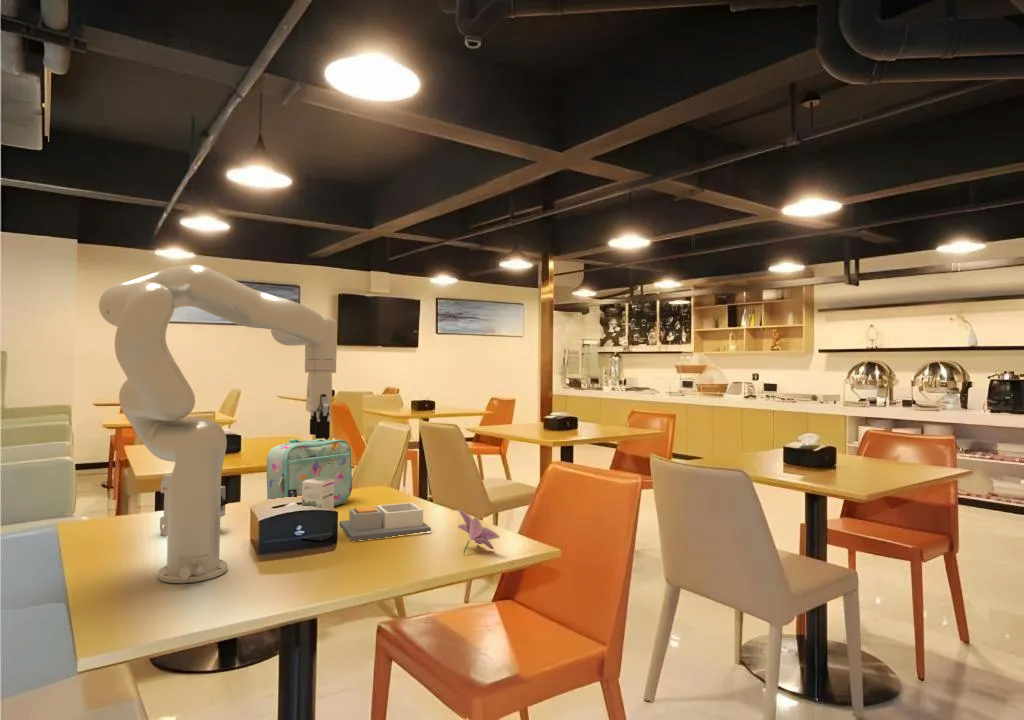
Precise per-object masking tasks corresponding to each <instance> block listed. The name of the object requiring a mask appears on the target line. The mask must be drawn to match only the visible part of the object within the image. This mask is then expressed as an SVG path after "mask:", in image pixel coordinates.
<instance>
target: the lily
mask: <svg viewBox="0 0 1024 720" xmlns="http://www.w3.org/2000/svg"><path fill="white" fill-rule="evenodd" d="M457 510H458V511H457V512H458V513H459V514H460V516H461V517H462V519H463V522H464V523H465V524H460V525H459V524H458V525H457V528H458V529H460V530H461V531H464V532H465V533H468V536H469V537H468V540H467V543H466V545H465V546H464V550H463V553H464V554H465V552H466V549H467V547H468V546H469V543H470V542H471V541H474V543H475V544H476V543H478V544H481V545H482V544H483V545H485V546H486V547H487V548H489V549H490V548H491V549H494V550H495V547H493V545H492V543H491V542H490V541H491V540H495V539H499V538H500V535H499V534H497V532H495V531H493V530H492V529H491V528H490V529H489V528H487V527H485V526H484V527H483V525H482V524H481V521H480V520H479V518H478V517H473V518H471V516H470V515H469V514H468V513H467V512H465V511H463V510H462V509H460V508H457ZM491 549H490V550H491ZM463 553H462V554H463Z"/></svg>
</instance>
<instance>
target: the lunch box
mask: <svg viewBox="0 0 1024 720" xmlns="http://www.w3.org/2000/svg"><path fill="white" fill-rule="evenodd" d="M352 474H353V472H352V449H351V446H350V444H349V443H348V442H347V441H346V440H344V439H332V440H331V439H310V440H307V439H306V440H298V439H297V438H294V439H293V438H291V439H288V442H287V443H286V442H285V443H282V444H279V445H275V446H273V447H272V448H271V449H270V450H269V451H268V452H267V456H266V497H267V498H266V499H267V500H268V499H276V498H284V497H297V496H302V482H303V481H305V480H308V479H311V478H322V479H334V507H336V506H337V505H340V504H343V503H345V502H346V501H348V499H349V498H350V497H351V494H352V490H353V475H352Z"/></svg>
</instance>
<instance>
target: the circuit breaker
mask: <svg viewBox="0 0 1024 720" xmlns="http://www.w3.org/2000/svg"><path fill="white" fill-rule="evenodd" d="M171 474H172V473H167V474H164V475H161V478H162V480H161V482H160V494H164V495H163V496H164V497H163V498H164V499H163V516H162V517H160V518H159V531H160V534H159V537H160V536H162V537H165V536H168V489H169V482H170V478H171ZM164 488H165V489H164ZM226 491H227V489H226V486H225V485H221V508H220V518H222V517H223V516H225V515H226V505H228V504H229V503H228V501H229V499H226Z"/></svg>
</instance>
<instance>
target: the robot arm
mask: <svg viewBox="0 0 1024 720" xmlns="http://www.w3.org/2000/svg"><path fill="white" fill-rule="evenodd" d="M182 307H183V308H185V307H194V308H197V309H199V310H202V311H203V312H206V313H209V314H212V315H214V316H216V317H219V318H221V319H223V320H226V321H228V322H231V323H232V324H235V325H238V326H243V327H248V328H252V329H253V328H254V329H255V328H256V329H265V330H266V329H267V330H270V333H271V337H273V340H275V341H276V342H278V343H279V344H281V345H283V346H290V347H291V346H293V347H294V346H296V347H297V346H304V373H306V374H307V382H306V383H307V384H306V400H305V401H306V402H305V410H306V412H308V413H310V415H309V416H310V419H309V435H311V436H312V435H313V436H314V435H315V439H316V440H320V439H322V440H326V439H330V432H331V428H330V427H331V426H330V425H331V421H330V419H331V418H330V413H331V411H332V407H333V405H332V403H333V375H332V374H337V353H338V352H337V350H338V349H337V348H338V347H337V345H338V344H337V342H338V341H337V340H338V323H337V321H336V319H335V318H333V317H326V316H325V317H324V316H322V315H321V314H320V313H319V312H317V311H315V310H314V309H311V308H309V307H307V306H305V305H303V304H301V303H298V302H296V301H293V300H289V299H286V298H283V297H279V296H276V295H274V294H270V293H267V292H263V291H260V290H256V289H254V288H251V287H249V286H248V285H245V284H243V283H241V282H239V281H237V280H235V279H234V278H233V279H232V278H231V277H229V276H227V275H224V274H222V273H221V272H219V271H216V270H215V269H212V268H210V267H208V266H205V265H202V264H196V263H195V264H193V263H192V264H185V265H178V266H172V267H167V268H164V269H161V270H158V271H155V272H152V273H150V274H146V275H143V276H140V277H136V278H134V279H130V280H127V281H125V282H121V283H117V284H115V285H113V286H110V287H109V288H108V289H105V291H103V292H102V294H101V296H100V298H99V301H98V310H99V313H100V315H101V316H102V318H103V319H104V320H105V321H106V322H107V323H109V324H110V325H112V326H114V327H117V328H116V332H115V336H114V352H115V356H116V359H117V362H118V364H119V366H120V368H121V369H122V371H123V373H124V375H125V377H126V380H125V381H124V382H123V383H122V385H121V387H120V389H119V395H118V400H119V405H120V408H121V410H122V411H121V412H122V413H123V414H124V416H125V418H126V419H127V421H128V423H129V424H130V425H131V427H132V429H134V431H135V433H136V435H138V437H139V438H140V440H141V442H142V444H144V446H145V448H146V449H147V450H148V451H149V452H150V453H151V454H152V455H153V456H155V458H158V459H160V460H161V461H162V460H163V461H166V462H173V463H174V465H173V469H172V472H171V473H170V474H171V478H170V482H169V489H168V537H167V539H166V540H167V545H166V546H167V548H166V550H167V553H166V565H165V566H163V567H162V568H160V569H158V571H157V579H158V580H159V581H161V582H162V583H163V582H164V583H169V584H186V583H187V584H188V583H195V582H196V583H197V582H202V581H207V580H212V579H214V578H216V577H217V578H218V577H219V576H221V575H223V574H224V573H226V571H227V570H228V567H229V566H228V562H227V561H225V560H222V559H220V555H221V553H220V551H221V550H220V549H221V548H220V546H221V545H220V544H221V543H220V542H221V517H220V508H221V486H222V473H223V466H224V465H223V464H224V459H225V455H226V451H227V443H228V441H227V440H228V439H227V434H226V432H225V430H224V429H223V428H222V426H221V425H220V424H218V422H216V421H214V420H211V419H209V418H203V417H195V416H188V415H190V414H191V413H192V411H193V410H194V409H195V404H196V397H195V393H194V390H193V388H192V386H191V385H190V384H189V382H188V380H187V378H186V377H185V376H184V374H183V372H182V370H181V368H180V367H179V365H178V364H177V363H176V361H175V359H174V357H173V355H172V353H171V352H170V349H169V347H168V345H167V340H166V339H167V338H166V337H167V330H168V326H169V324H170V321H171V319H172V317H173V315H174V312H175V309H178V308H182Z"/></svg>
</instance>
